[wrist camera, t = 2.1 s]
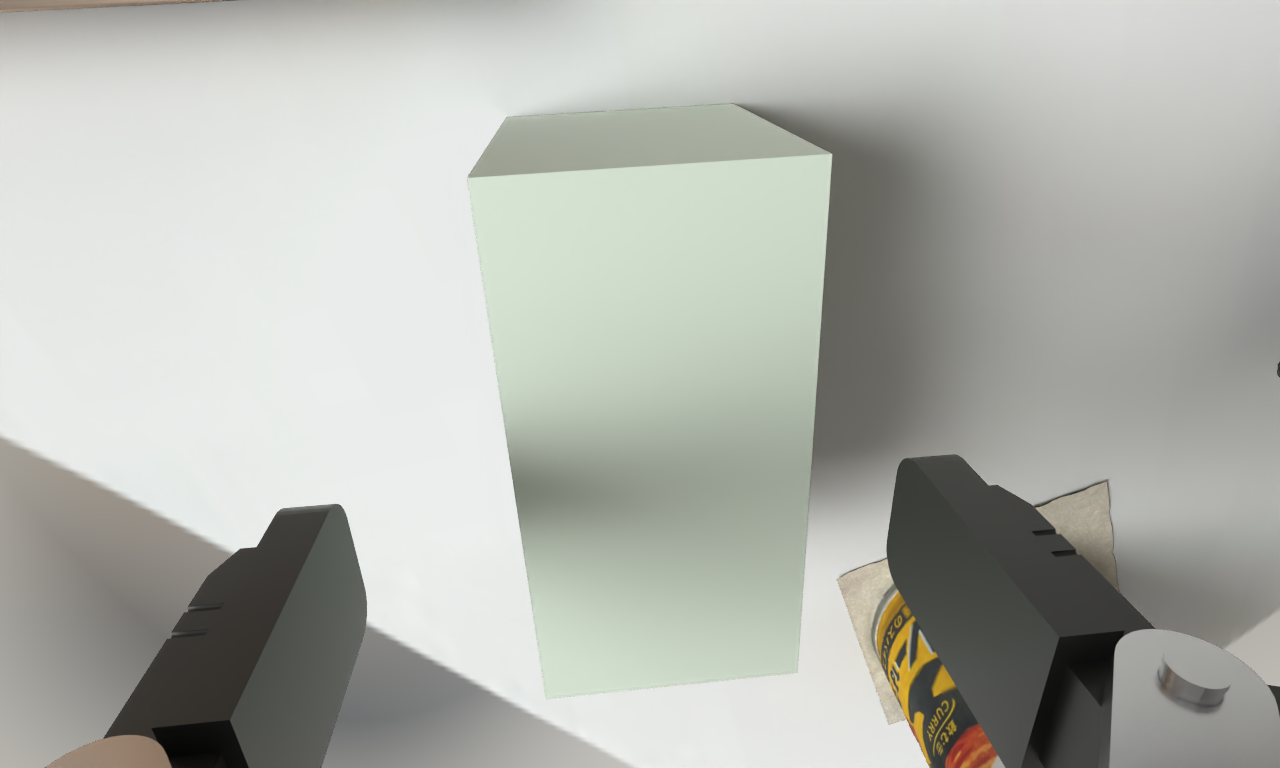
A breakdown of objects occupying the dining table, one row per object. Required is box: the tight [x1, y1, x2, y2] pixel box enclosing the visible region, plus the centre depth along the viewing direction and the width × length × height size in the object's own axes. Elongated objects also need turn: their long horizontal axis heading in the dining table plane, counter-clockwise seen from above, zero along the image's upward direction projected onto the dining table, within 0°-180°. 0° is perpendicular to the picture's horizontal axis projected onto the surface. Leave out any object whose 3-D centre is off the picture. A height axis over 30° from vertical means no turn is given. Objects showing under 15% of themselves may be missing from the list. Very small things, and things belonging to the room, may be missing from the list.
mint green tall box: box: [467, 103, 832, 699], centre depth 15 cm, size 5×11×7 cm, turn 3°
